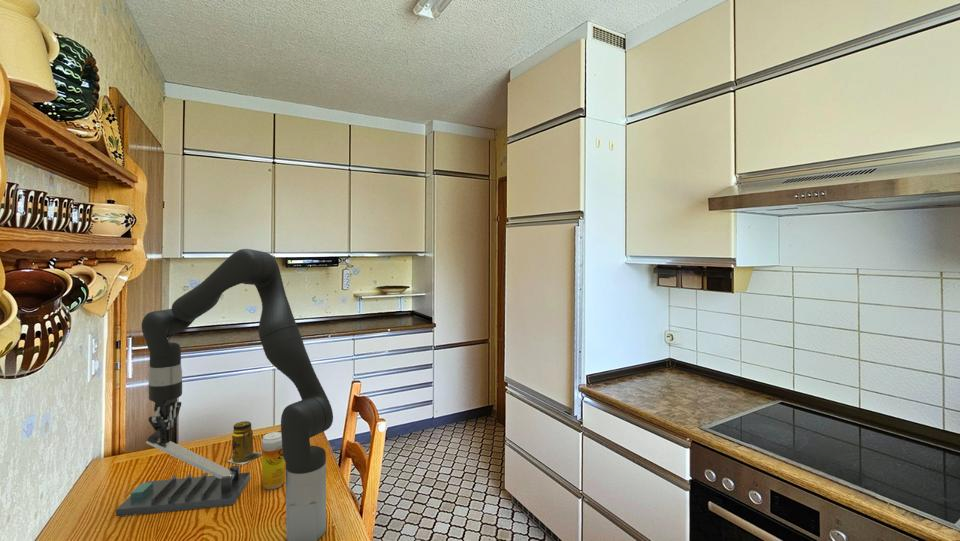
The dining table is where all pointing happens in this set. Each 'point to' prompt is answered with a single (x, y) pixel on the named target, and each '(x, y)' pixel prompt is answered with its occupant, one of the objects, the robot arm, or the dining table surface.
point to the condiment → (243, 443)
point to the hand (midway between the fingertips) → (166, 441)
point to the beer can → (272, 461)
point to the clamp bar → (189, 457)
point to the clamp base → (184, 494)
